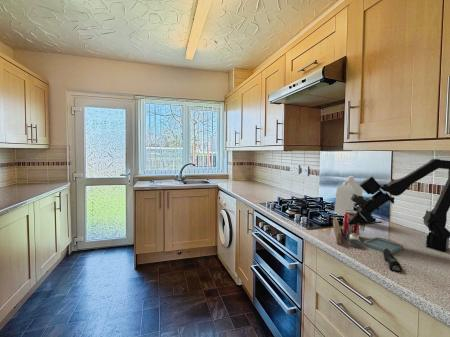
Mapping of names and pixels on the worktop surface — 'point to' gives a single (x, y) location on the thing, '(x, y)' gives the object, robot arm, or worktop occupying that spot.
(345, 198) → the milk
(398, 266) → the electric trimmer
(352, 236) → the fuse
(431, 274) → the worktop surface
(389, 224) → the worktop surface
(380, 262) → the worktop surface
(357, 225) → the soda can
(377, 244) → the tray
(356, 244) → the clip rack
